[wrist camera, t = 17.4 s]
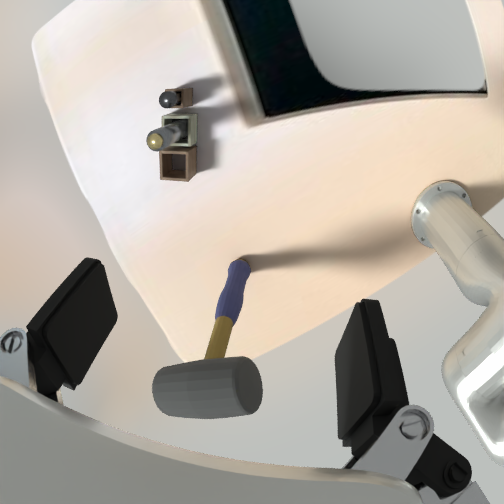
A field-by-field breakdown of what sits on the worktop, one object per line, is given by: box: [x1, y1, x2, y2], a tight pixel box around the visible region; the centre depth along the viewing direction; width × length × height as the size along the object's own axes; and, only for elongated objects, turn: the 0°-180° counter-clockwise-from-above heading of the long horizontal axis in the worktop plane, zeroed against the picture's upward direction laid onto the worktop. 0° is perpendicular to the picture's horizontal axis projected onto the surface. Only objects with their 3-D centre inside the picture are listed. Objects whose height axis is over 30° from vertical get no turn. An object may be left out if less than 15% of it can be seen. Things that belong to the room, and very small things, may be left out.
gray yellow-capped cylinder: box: [147, 119, 188, 151], centre depth 37 cm, size 3×3×11 cm
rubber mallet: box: [152, 259, 263, 419], centre depth 41 cm, size 12×8×30 cm, turn 115°
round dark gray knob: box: [159, 91, 181, 108], centre depth 36 cm, size 2×2×6 cm
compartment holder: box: [159, 88, 198, 182], centre depth 40 cm, size 5×14×4 cm, turn 176°
